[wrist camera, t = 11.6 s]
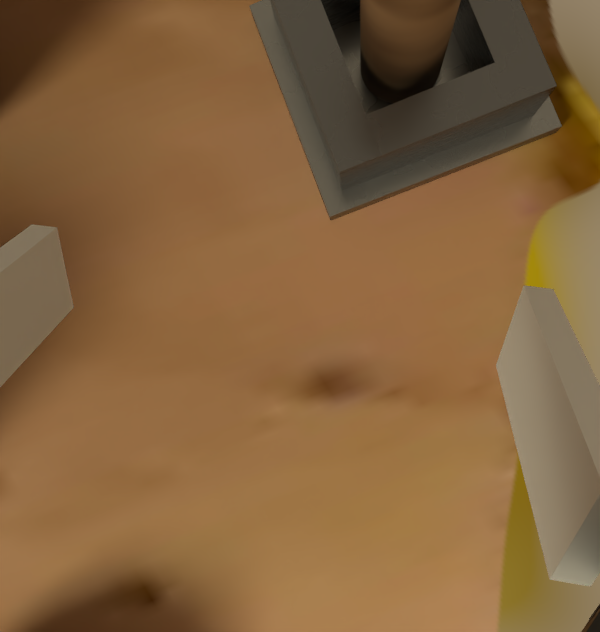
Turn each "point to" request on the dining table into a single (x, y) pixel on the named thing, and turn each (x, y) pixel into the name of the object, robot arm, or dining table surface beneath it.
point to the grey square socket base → (411, 113)
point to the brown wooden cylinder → (404, 45)
